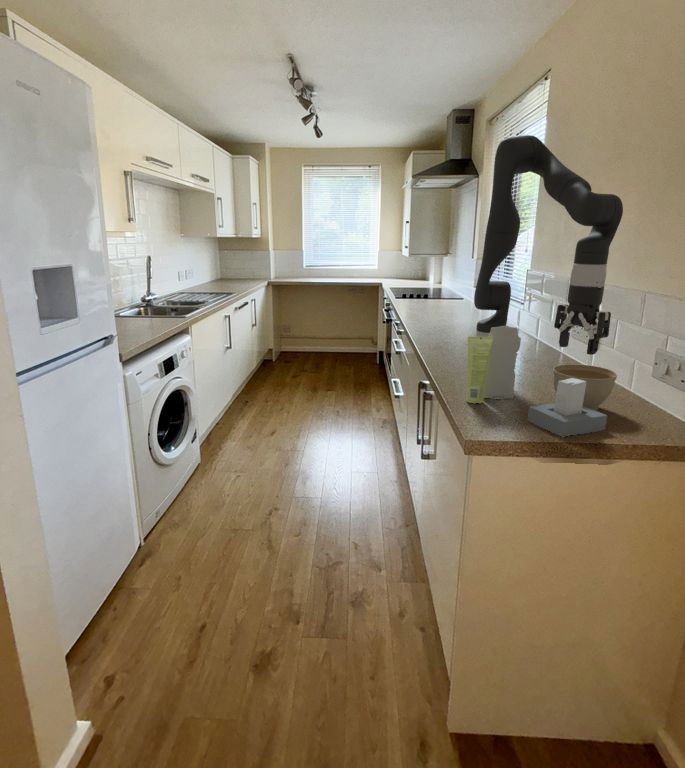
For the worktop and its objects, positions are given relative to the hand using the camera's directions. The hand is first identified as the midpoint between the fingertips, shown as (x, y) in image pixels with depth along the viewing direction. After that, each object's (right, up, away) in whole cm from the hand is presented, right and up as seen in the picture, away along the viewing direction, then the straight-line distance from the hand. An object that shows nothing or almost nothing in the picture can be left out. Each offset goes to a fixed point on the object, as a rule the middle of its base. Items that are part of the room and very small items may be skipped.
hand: (576, 350), depth 121 cm
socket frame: (0, -19, +6) cm, 20 cm away
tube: (-19, -14, +24) cm, 33 cm away
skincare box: (0, -19, +6) cm, 20 cm away
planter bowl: (+10, -15, +20) cm, 27 cm away
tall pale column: (-11, -13, +28) cm, 32 cm away
